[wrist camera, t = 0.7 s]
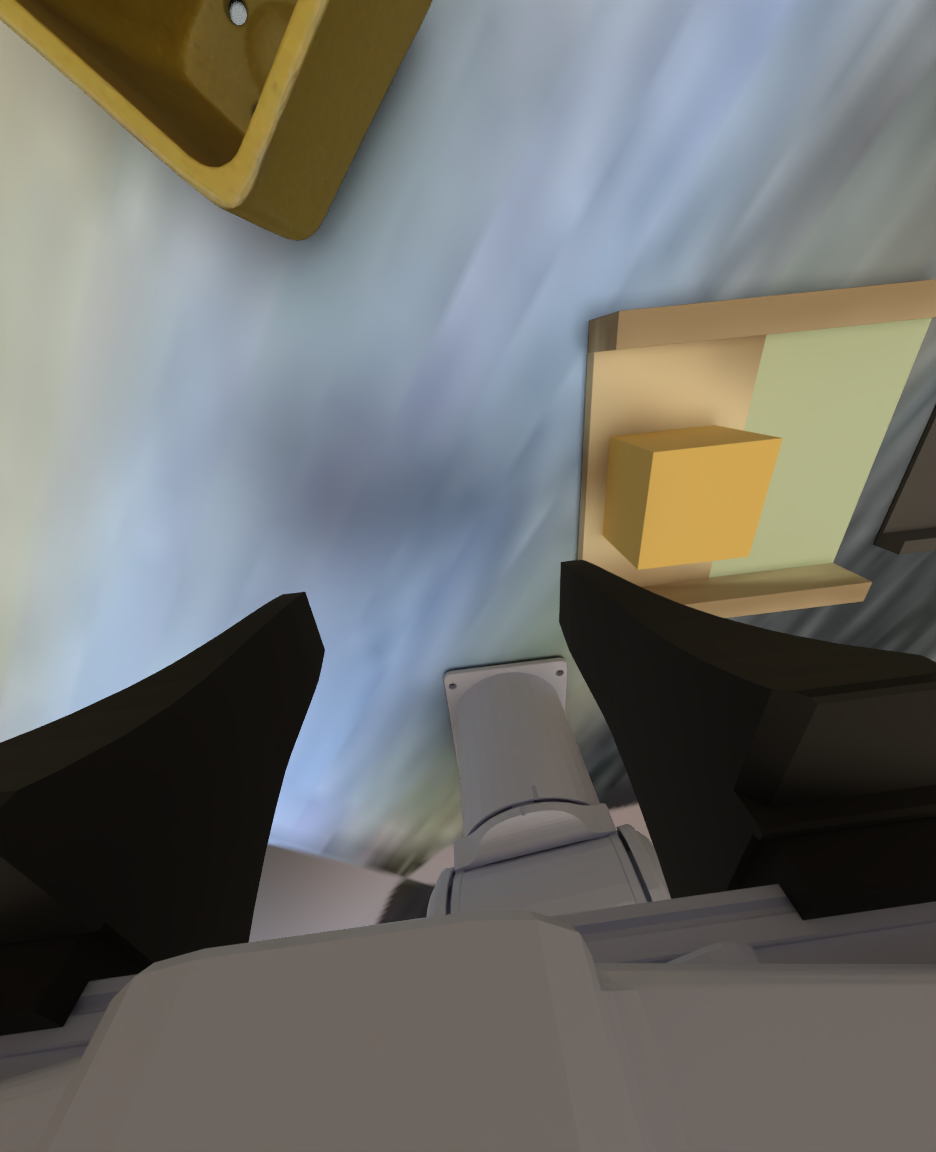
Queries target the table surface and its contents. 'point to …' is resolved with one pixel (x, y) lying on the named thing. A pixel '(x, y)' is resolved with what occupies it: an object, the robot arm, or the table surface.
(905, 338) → the pad
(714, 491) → the block
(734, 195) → the table surface
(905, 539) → the pit tray
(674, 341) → the channel
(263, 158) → the flower pot
